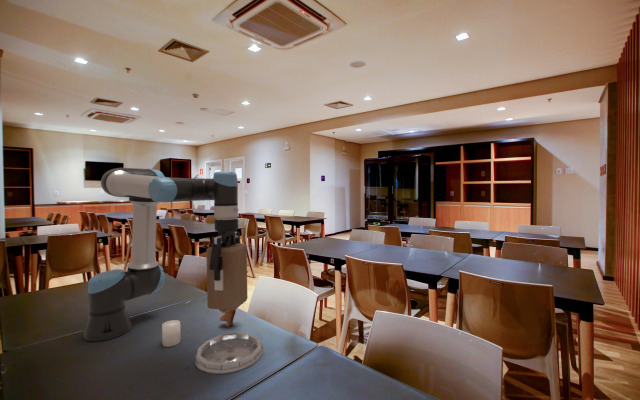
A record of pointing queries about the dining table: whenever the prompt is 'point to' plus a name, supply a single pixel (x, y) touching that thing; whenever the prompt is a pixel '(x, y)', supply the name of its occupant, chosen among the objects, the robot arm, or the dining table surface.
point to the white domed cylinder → (171, 333)
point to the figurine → (227, 316)
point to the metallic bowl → (228, 353)
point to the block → (228, 278)
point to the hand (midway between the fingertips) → (227, 284)
